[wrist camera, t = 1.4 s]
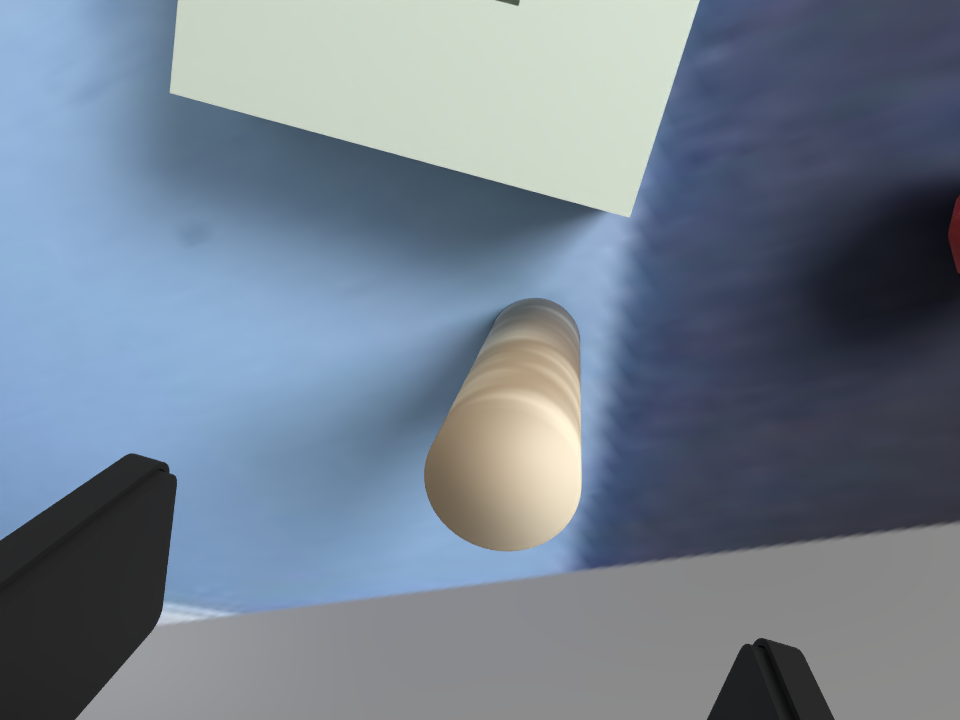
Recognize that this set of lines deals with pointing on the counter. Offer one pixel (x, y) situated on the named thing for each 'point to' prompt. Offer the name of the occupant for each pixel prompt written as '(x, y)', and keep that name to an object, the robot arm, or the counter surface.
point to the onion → (955, 234)
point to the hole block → (453, 81)
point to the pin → (513, 434)
